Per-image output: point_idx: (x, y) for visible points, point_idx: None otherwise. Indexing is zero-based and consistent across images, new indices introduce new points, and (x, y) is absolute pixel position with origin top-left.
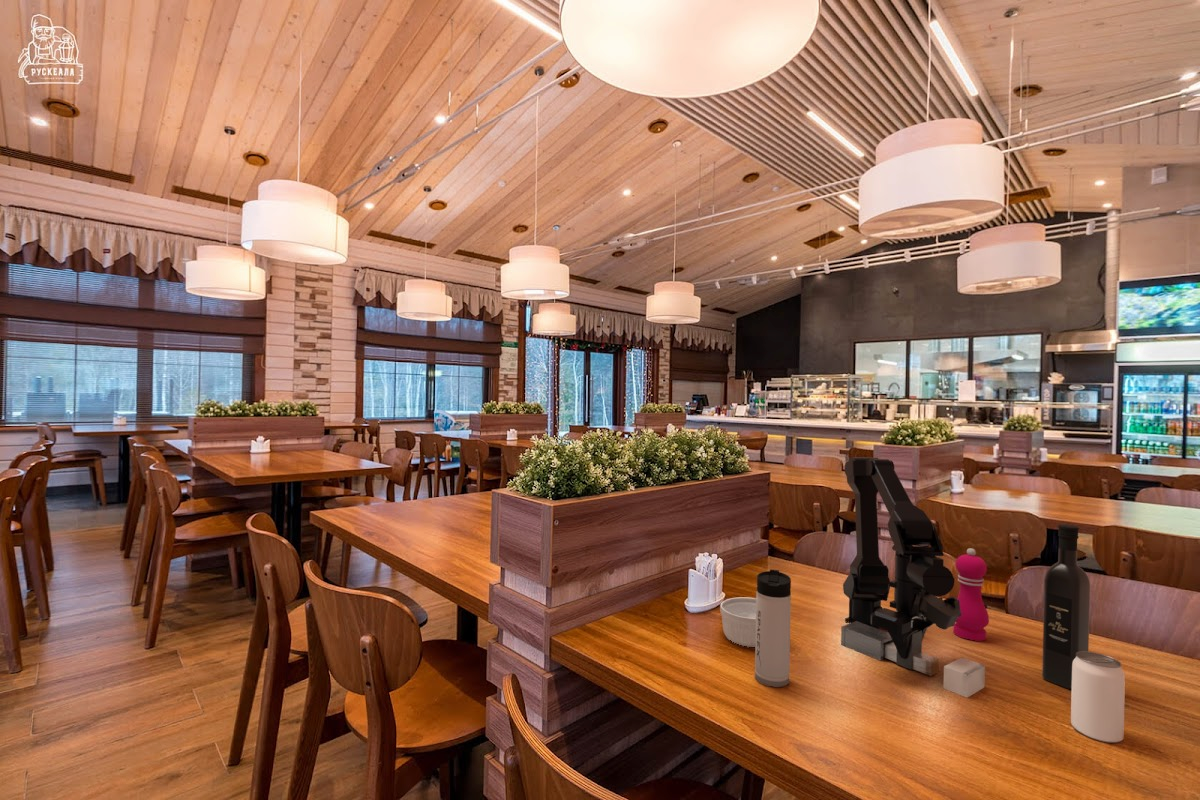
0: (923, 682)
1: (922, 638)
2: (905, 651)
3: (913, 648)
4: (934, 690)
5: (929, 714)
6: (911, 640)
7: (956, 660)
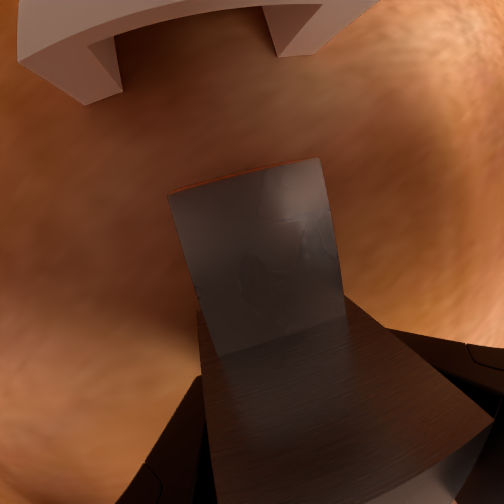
0: (361, 145)
1: (160, 460)
2: (411, 337)
3: (366, 346)
4: (374, 68)
5: (484, 19)
6: (447, 382)
7: (142, 6)
